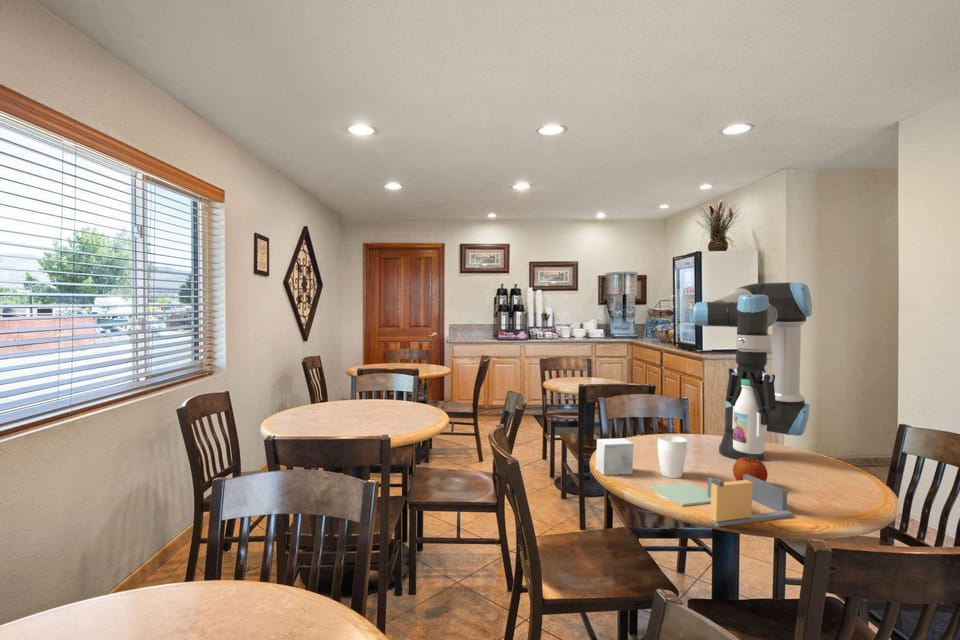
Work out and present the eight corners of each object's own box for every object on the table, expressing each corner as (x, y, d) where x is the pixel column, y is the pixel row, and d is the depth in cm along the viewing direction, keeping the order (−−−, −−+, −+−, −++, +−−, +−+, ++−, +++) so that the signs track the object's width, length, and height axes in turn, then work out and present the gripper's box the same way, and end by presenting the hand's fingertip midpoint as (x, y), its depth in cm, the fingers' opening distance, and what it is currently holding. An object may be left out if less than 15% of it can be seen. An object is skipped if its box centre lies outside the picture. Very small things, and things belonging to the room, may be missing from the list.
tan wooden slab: (744, 513, 129) (745, 474, 129) (752, 517, 126) (754, 478, 126) (709, 517, 126) (710, 478, 126) (717, 522, 123) (718, 481, 123)
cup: (688, 480, 157) (689, 443, 157) (658, 478, 159) (659, 441, 159) (682, 471, 166) (683, 436, 166) (654, 469, 168) (655, 434, 167)
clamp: (746, 494, 146) (747, 474, 146) (794, 516, 131) (795, 494, 131) (675, 502, 139) (676, 481, 139) (717, 526, 124) (718, 502, 124)
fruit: (761, 481, 158) (762, 450, 157) (771, 492, 148) (772, 459, 148) (728, 478, 160) (729, 448, 159) (737, 489, 150) (738, 456, 150)
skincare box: (603, 476, 160) (604, 444, 160) (595, 469, 166) (595, 438, 166) (633, 474, 162) (634, 442, 162) (623, 468, 169) (624, 437, 168)
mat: (689, 484, 154) (690, 482, 154) (723, 501, 140) (723, 499, 140) (651, 488, 150) (651, 486, 150) (682, 506, 136) (682, 504, 136)
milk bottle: (761, 448, 140) (763, 378, 139) (767, 456, 132) (769, 382, 132) (730, 445, 142) (732, 376, 142) (735, 453, 135) (737, 380, 134)
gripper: (713, 347, 145) (710, 424, 146) (772, 354, 126) (769, 443, 126) (733, 347, 147) (731, 422, 148) (795, 353, 128) (792, 441, 128)
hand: (748, 432), depth 137 cm, fingers closed on milk bottle, 8 cm apart
